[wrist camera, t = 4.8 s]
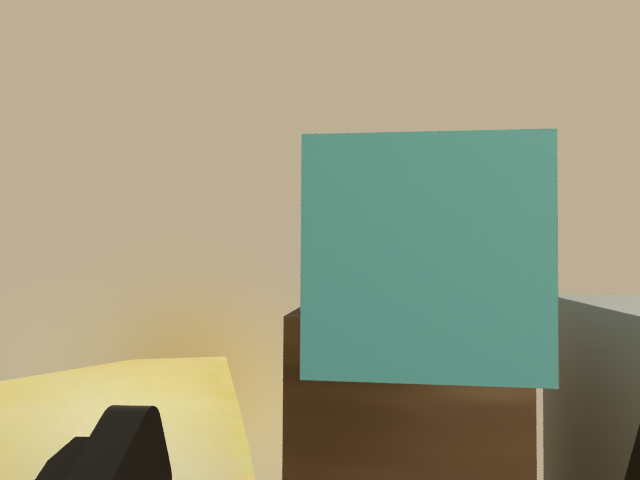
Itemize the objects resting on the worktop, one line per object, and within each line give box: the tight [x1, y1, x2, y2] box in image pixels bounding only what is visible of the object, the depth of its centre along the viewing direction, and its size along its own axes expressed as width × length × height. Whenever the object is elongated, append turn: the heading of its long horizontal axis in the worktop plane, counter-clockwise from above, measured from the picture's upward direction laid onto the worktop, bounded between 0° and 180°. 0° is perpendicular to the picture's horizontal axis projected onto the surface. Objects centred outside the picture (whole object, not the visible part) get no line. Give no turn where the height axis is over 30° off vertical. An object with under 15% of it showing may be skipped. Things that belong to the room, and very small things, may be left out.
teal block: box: [300, 129, 559, 389], centre depth 22 cm, size 26×4×4 cm, turn 173°
